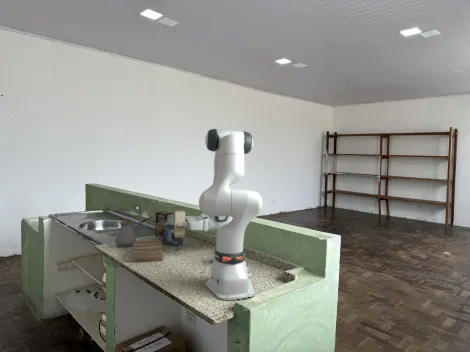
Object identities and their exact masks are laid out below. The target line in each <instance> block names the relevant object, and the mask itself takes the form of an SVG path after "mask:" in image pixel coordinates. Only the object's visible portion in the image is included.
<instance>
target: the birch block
mask: <svg viewBox="0 0 470 352" xmlns="http://www.w3.org/2000/svg"><path fill="white" fill-rule="evenodd" d="M185 216H186V211H185V210H174V216H173V225H174V236H175V237H183V238H186V237H185V236H186V227H185V226H179V225H178V223H179V222H185Z"/></svg>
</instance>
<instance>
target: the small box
mask: <svg viewBox="0 0 470 352" xmlns="http://www.w3.org/2000/svg"><path fill="white" fill-rule="evenodd" d="M161 243H162V245H167V246H172V247H180V246H181V245H183V244H184V237H175V236H174V224H173V225H165V226H163V232H162V239H161Z"/></svg>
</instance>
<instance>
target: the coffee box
mask: <svg viewBox="0 0 470 352" xmlns="http://www.w3.org/2000/svg"><path fill="white" fill-rule="evenodd" d="M174 217H175V212H169V211H164V210H163V211H157V212H155V239H156V240H162V232H163V226H165V225H174Z"/></svg>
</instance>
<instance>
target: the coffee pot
mask: <svg viewBox="0 0 470 352" xmlns="http://www.w3.org/2000/svg"><path fill="white" fill-rule="evenodd" d="M150 219H151V220H152V221H153V220H154V219H153V216H149V217H147V218H145V219H143V220H140V221H138V223H136V224H134V225H132V221H121V222H119V224H120V228H119V230H118V233H117V235H116V236H115V240H114V242H115V244H116V245H117V246H118V247H120V246H129V247H132V246H134V241H137V238H136V237H137V236H136V235H135V233H134V230H133V228H134V227H136V226H139V225H141V224H143V223H145V222H147V221H149V220H150ZM131 225H132V226H131Z"/></svg>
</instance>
